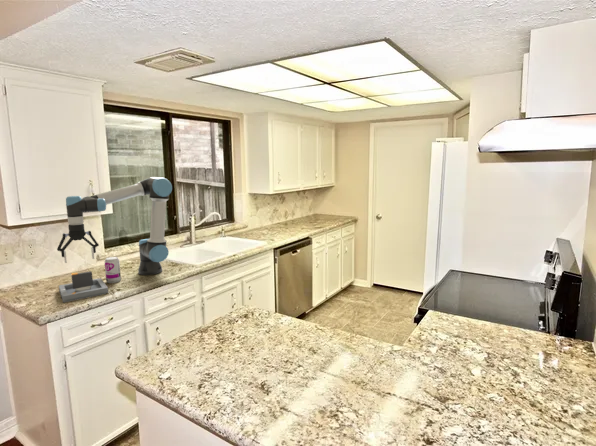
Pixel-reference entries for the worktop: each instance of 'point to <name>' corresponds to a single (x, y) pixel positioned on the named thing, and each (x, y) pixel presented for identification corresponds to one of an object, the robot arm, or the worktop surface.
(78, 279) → the dial
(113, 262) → the supplement can
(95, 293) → the dial panel
